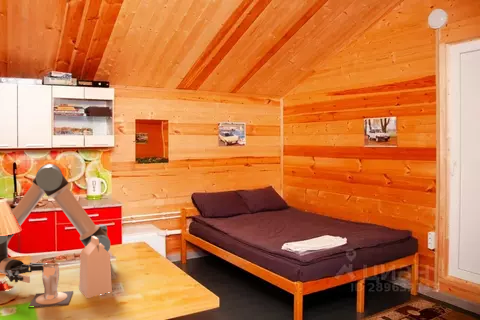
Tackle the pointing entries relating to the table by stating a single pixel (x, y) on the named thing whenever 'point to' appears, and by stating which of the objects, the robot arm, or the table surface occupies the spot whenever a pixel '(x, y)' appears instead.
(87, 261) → the milk
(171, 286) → the table surface
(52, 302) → the mat
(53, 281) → the beer glass
